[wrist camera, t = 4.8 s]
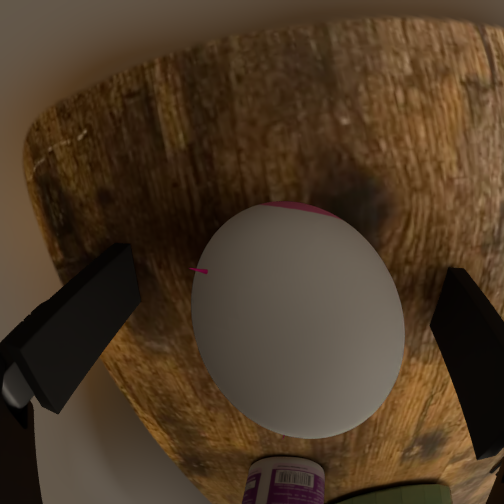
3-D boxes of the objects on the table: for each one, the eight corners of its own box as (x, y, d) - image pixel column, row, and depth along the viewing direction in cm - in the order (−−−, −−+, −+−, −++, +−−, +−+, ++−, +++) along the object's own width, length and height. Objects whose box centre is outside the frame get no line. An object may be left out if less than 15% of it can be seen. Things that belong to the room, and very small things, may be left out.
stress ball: (236, 185, 14) (100, 259, 10) (415, 148, 8) (264, 273, 4) (291, 324, 16) (196, 413, 12) (442, 350, 10) (356, 504, 6)
